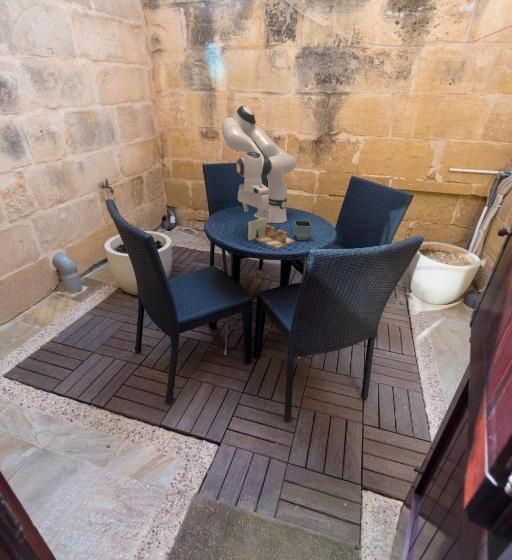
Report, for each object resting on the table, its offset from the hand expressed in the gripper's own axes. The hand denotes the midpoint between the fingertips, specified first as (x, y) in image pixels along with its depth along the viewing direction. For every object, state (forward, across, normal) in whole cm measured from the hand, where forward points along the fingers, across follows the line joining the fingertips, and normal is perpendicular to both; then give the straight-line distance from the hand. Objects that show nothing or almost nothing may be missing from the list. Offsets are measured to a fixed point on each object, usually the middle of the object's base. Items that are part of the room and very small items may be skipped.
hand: (252, 213), depth 167 cm
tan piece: (+14, +10, +8) cm, 19 cm away
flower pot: (+15, +17, +22) cm, 32 cm away
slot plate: (+14, 0, +4) cm, 15 cm away
